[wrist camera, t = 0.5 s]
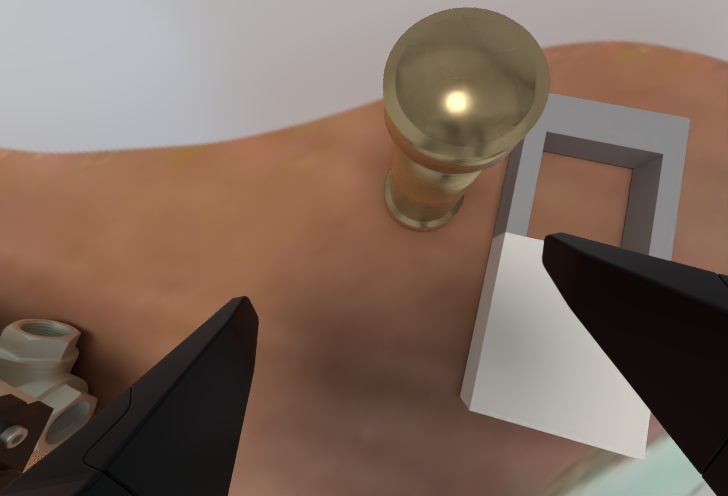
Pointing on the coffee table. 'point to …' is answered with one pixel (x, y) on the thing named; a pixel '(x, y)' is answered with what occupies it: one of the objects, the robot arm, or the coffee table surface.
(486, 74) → the brass fitting
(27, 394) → the ball valve
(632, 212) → the grey holder base
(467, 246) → the coffee table surface
